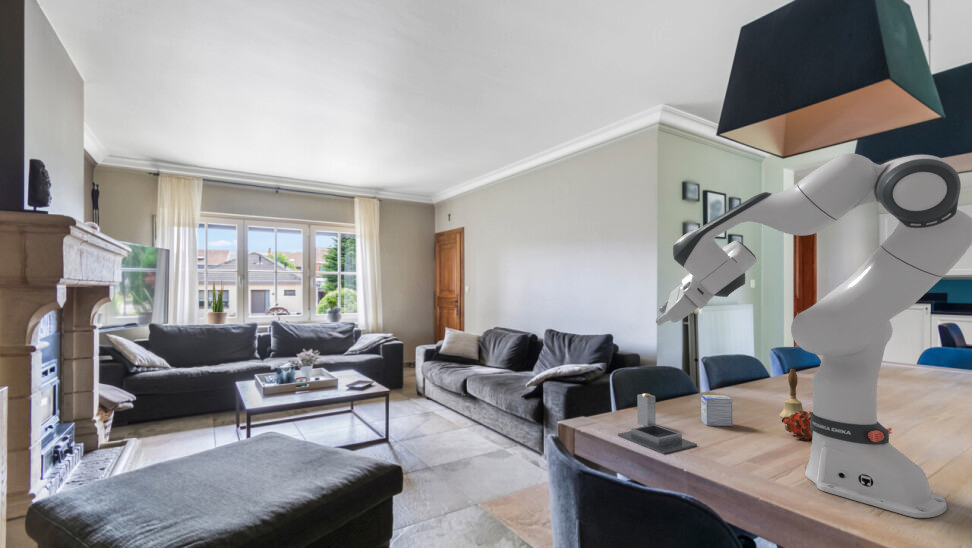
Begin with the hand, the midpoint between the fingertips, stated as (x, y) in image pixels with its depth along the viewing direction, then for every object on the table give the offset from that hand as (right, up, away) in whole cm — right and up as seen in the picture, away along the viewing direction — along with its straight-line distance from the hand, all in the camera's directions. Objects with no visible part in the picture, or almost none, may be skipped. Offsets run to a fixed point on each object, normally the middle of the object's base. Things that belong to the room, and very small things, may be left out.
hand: (659, 316), depth 129 cm
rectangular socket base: (-3, -34, -6) cm, 35 cm away
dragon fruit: (+40, -35, -4) cm, 53 cm away
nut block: (0, -35, +9) cm, 36 cm away
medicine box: (+22, -35, +9) cm, 42 cm away
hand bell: (+52, -35, +17) cm, 65 cm away
